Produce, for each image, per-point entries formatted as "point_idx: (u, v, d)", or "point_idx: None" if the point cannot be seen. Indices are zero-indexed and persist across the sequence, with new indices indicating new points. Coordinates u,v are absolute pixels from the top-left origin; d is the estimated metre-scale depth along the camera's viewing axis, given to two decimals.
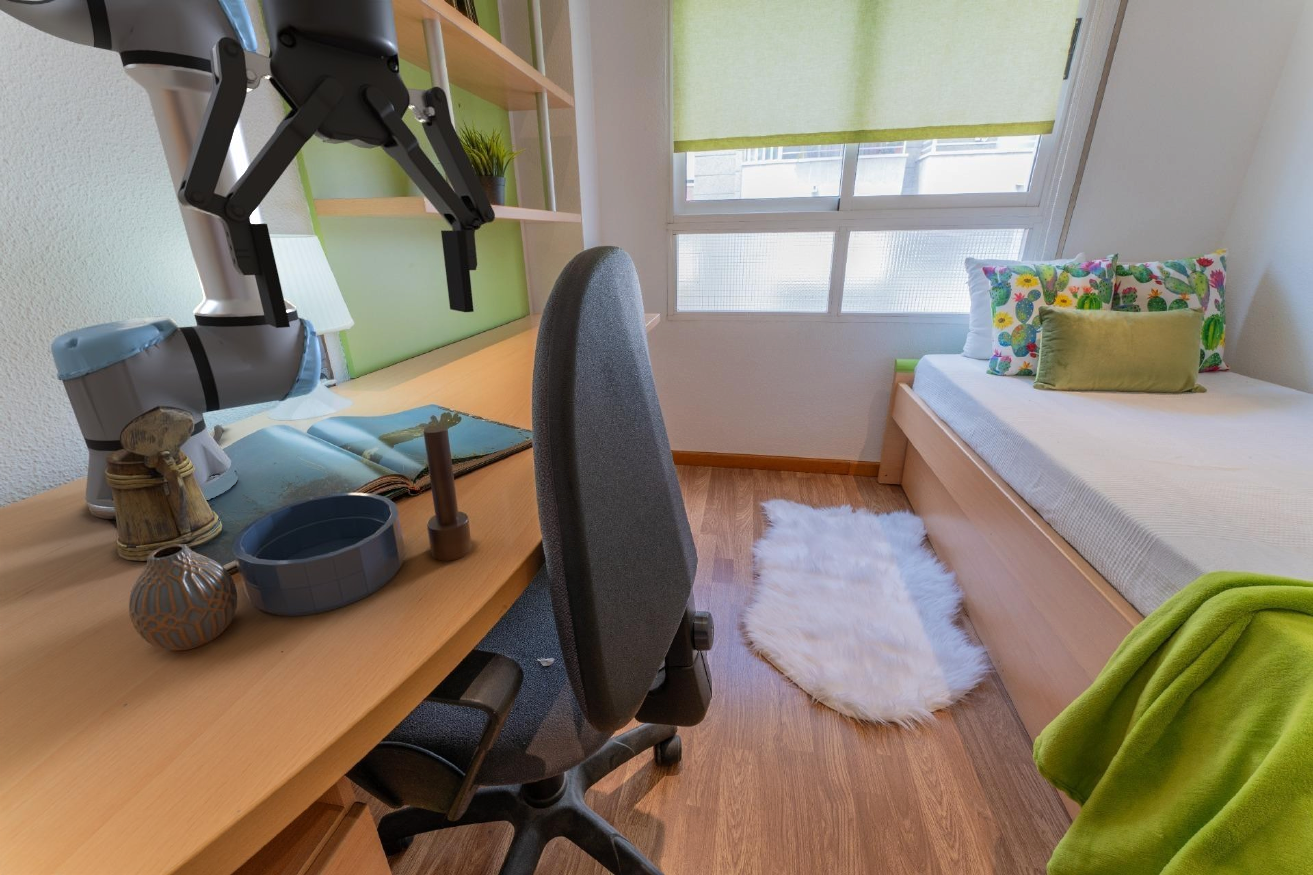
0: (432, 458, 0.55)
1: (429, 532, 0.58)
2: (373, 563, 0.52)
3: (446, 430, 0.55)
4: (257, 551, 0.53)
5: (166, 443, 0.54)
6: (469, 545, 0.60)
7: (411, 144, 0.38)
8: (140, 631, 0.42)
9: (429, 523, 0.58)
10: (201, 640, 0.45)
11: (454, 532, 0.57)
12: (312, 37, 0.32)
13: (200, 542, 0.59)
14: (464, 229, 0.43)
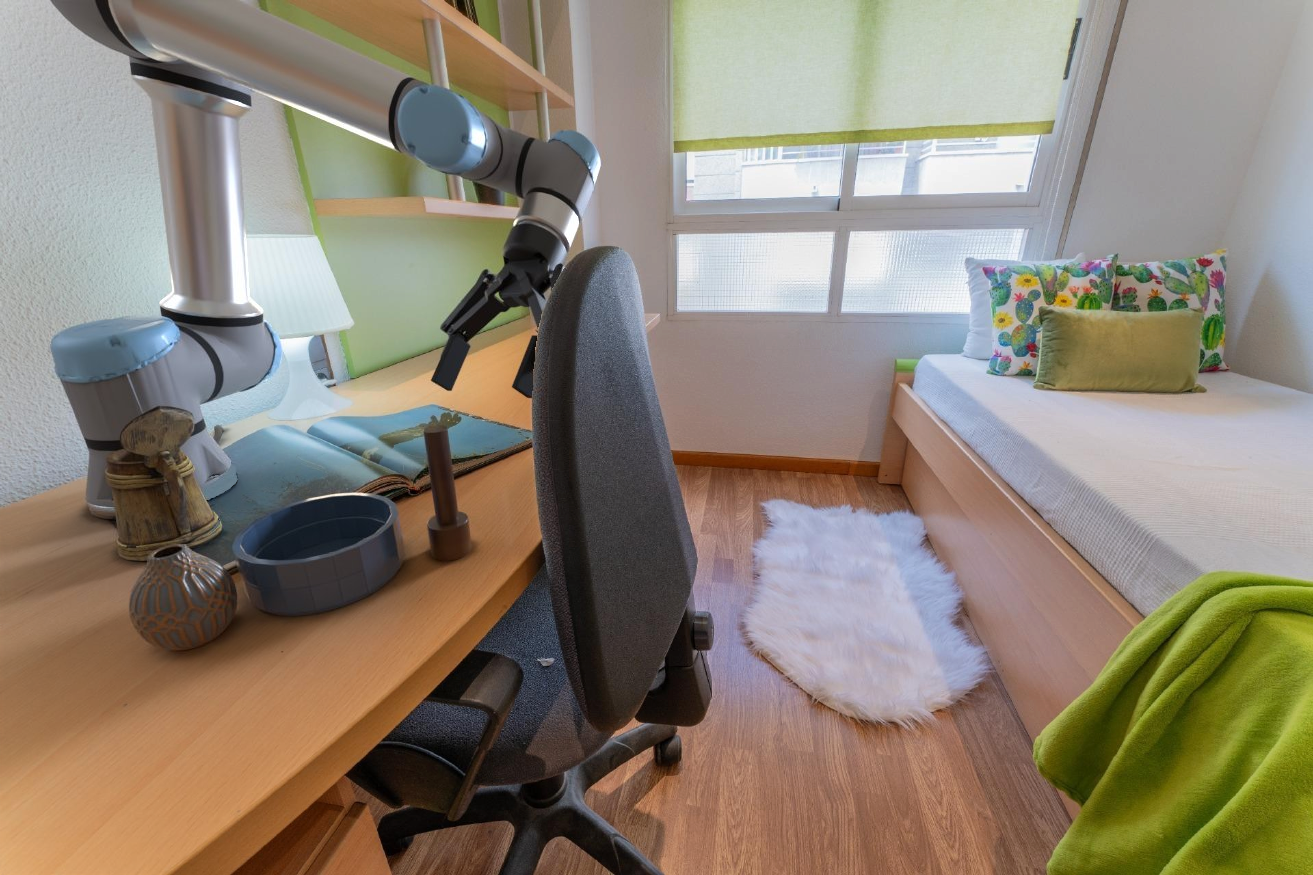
0: (432, 458, 0.55)
1: (429, 532, 0.58)
2: (373, 563, 0.52)
3: (446, 430, 0.55)
4: (257, 551, 0.53)
5: (166, 443, 0.54)
6: (469, 545, 0.60)
7: None
8: (140, 631, 0.42)
9: (429, 523, 0.58)
10: (201, 640, 0.45)
11: (454, 532, 0.57)
12: None
13: (200, 542, 0.59)
14: None
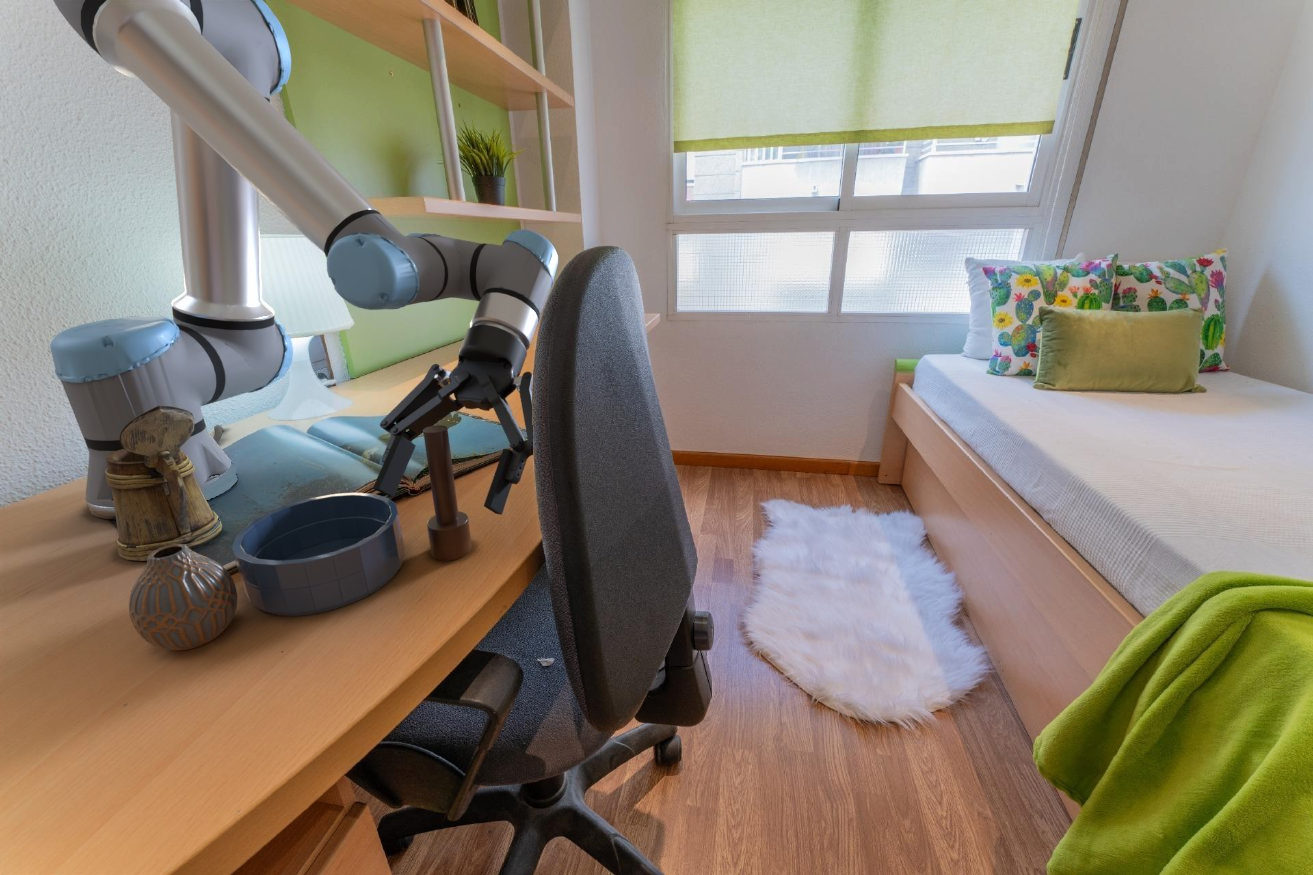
0: (432, 458, 0.55)
1: (429, 532, 0.58)
2: (373, 563, 0.52)
3: (446, 430, 0.55)
4: (257, 551, 0.53)
5: (166, 443, 0.54)
6: (469, 545, 0.60)
7: None
8: (140, 631, 0.42)
9: (429, 523, 0.58)
10: (201, 640, 0.45)
11: (454, 532, 0.57)
12: None
13: (200, 542, 0.59)
14: None
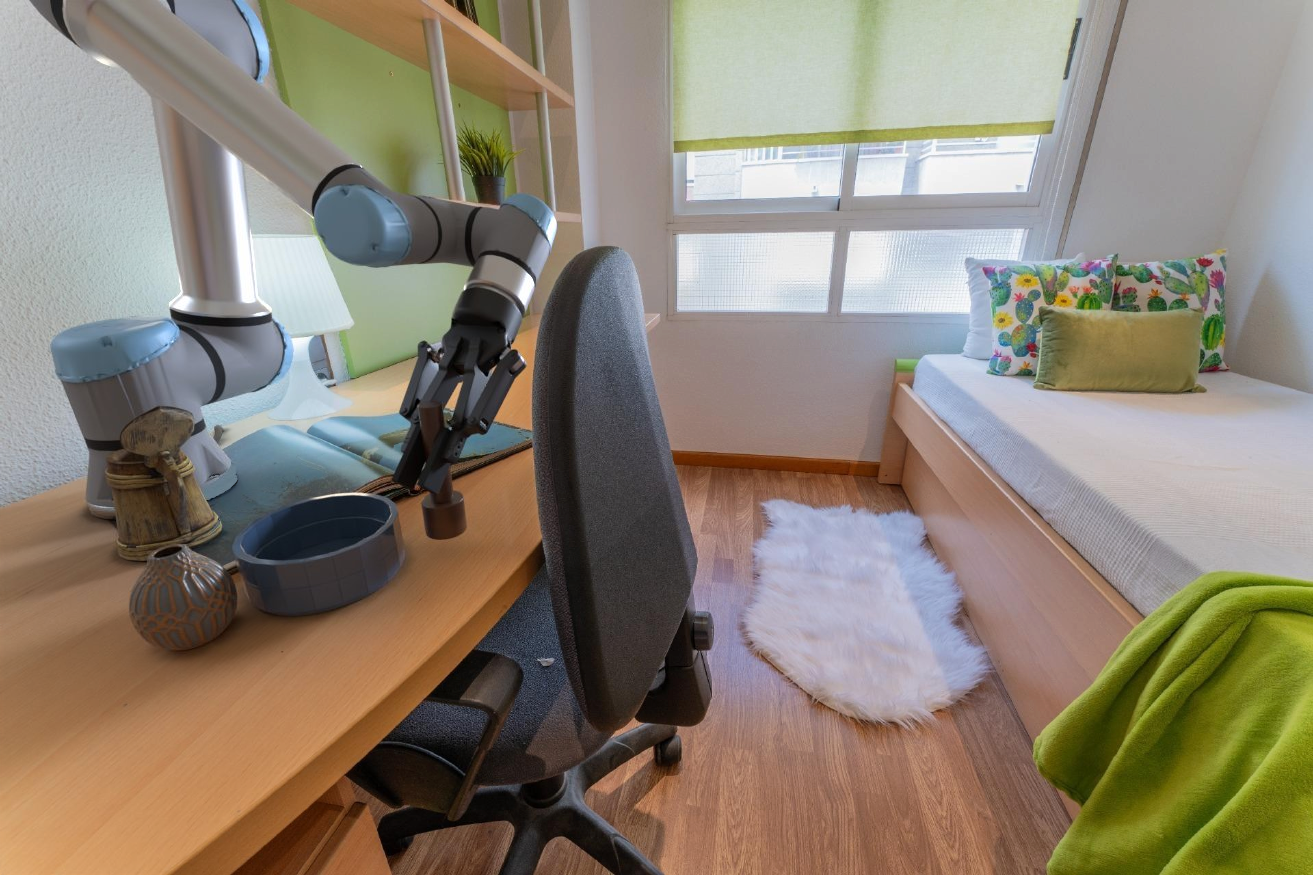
0: (427, 434, 0.54)
1: (423, 510, 0.56)
2: (373, 563, 0.52)
3: (441, 406, 0.54)
4: (257, 551, 0.53)
5: (166, 443, 0.54)
6: (464, 525, 0.59)
7: None
8: (140, 631, 0.42)
9: (424, 501, 0.57)
10: (201, 640, 0.45)
11: (448, 510, 0.56)
12: None
13: (200, 542, 0.59)
14: None
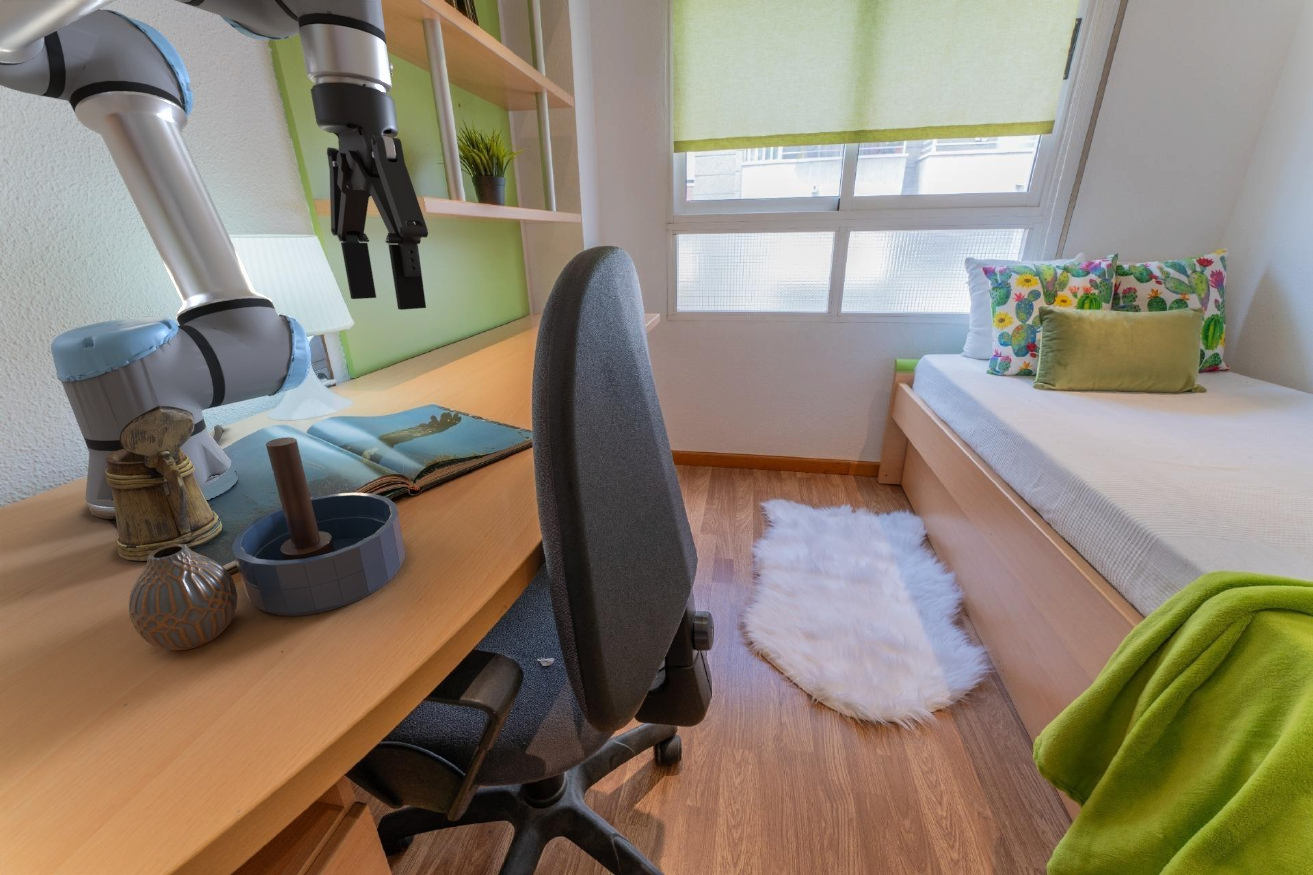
0: (278, 474, 0.49)
1: (283, 557, 0.52)
2: (373, 563, 0.52)
3: (294, 443, 0.49)
4: (257, 551, 0.53)
5: (166, 443, 0.54)
6: None
7: None
8: (140, 631, 0.42)
9: (284, 546, 0.52)
10: (201, 640, 0.45)
11: (310, 556, 0.51)
12: (385, 134, 0.54)
13: (200, 542, 0.59)
14: (358, 241, 0.63)
